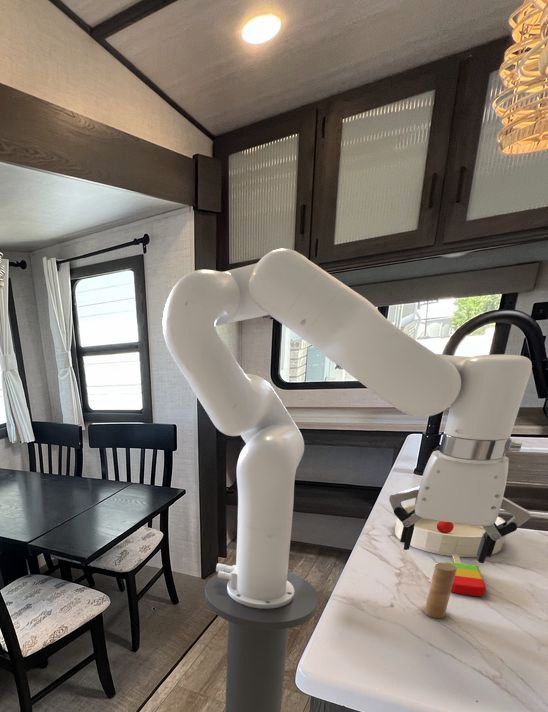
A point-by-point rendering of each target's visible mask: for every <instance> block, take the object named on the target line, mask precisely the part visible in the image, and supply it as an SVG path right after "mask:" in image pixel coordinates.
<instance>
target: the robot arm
mask: <svg viewBox="0 0 548 712" xmlns="http://www.w3.org/2000/svg"><path fill="white" fill-rule="evenodd" d="M265 316H270V317H272V318H273V319H274V320H276V322H279V323H280V324H282V325H283V326H285V327H286V328H287V329H289V330H290V331H292V332H293V333H295V334H296V335H297V336H298V337H300V338H301V339H302V340H304V341H305V342H307V344H309V345H311V346H312V347H313V348H315V349H316V350H317V351H319V352H321V353H322V354H323V355H324V356H325V357H326V358H327V359H328V360H329V361H331V362H333V363H334V364H336V365H337V366H339V367H340V368H341V369H342V370H344V371H345V372H347V374H349V375H350V376H351V377H353V378H354V379H355V380H356V381H357V382H358V383H361V385H363V386H364V387H366V388H367V389H368V390H370V391H371V392H372V393H374V394H375V395H377V396H378V397H379V398H381V399H382V400H384V401H385V402H386V403H388V404H389V405H391V406H392V407H393V408H395V409H397V410H398V411H400V412H401V413H403V414H405V415H408V416H411V417H415V418H427V417H432V416H435V415H438V414H440V413H442V412H444V411H446V410H447V409H448V408H449V411H448V415H447V417H446V418H447V419H446V422H445V426H444V431H443V434H442V437H441V441H440V445H439V449H438V450H434V451H432V453H431V454H430V457H429V458H428V460H427V463H426V465H425V468H424V470H423V473H422V476H421V479H420V482H419V485H418V486H417V487H413V488H410V489H407V490H402V491H399V492H396V493H392V494H390V496H389V499H388V500H389V504H390V506H391V508H392V510H393V514H394V515H395V516H396V518H397V517H398V519H399V520H400V521H401V522H402V524H403V531H402V535H401V539H399V543H403V550H404V551H408V550H410V548H411V546H410V543H411V539H412V535H413V531H414V525H415V523H416V522H417V521H419V520H420V519H422V518H426V519H432V520H438V521H445V522H452V523H460V524H467V525H474V526H482V527H483V528H484V529H485V531H486V532H485V533H483V536H482V539H481V542H480V545H479V548H478V551H477V557H476V560H477V561H476V562H477V563H479V564H484V563H485V561H486V558H487V557H488V558H491V557H492V555H493V554H492V552H493V549H494V546H495V543H496V540H499V539H500V538H501V537H503V536H505V535H506V536H508V535H510V534H512V533H513V532H514V533H515V532H516V531H517V530H518V528H519V527H522V526H523V525H524V524H525V523H526V522H527V521H529V520H530V519H531V517H532V515H531V513H530V511H529V510H527V509H525V507H522V506H520V505H519V504H517V503H515V502H513V501H512V500H510V499H508V498H506V497H505V496H504V494H505V491H506V486H507V479H508V474H509V473H508V472H509V463H510V461H509V460H510V459H509V457H507V456H506V455H508V454H509V453H513V452H516V453H517V452H518V453H519V452H520V451H521V449H522V446H523V445H522V444H523V442H522V441H516V440H512V438H511V435H512V432H513V429H514V426H515V423H516V420H517V417H518V413H519V410H520V407H521V405H522V401H523V398H524V396H525V392H526V389H527V386H528V383H529V379H530V377H531V373H532V368H533V365H532V361H531V360H530V358H528V357H527V356H524V355H518V354H481V355H474V356H463V355H462V356H461V355H449V354H441V353H435V352H433V351H432V350H431V349H429V348H427V347H426V346H425V345H423V344H422V343H420V342H419V341H417V340H415V339H414V338H413V337H412V336H410V335H408V334H407V333H406V332H405V331H403V330H402V329H400V328H399V327H398V326H396V325H395V324H394V323H393V322H392V321H390V320H389V319H387V317H385V316H384V315H383V314H382V313H381V312H380V310H379V309H378V308H377V307H376V306H375V305H374V304H373V303H372V302H371V301H370V300H368V299H367V298H366V297H364V296H363V295H362V294H360V293H358V292H356V291H355V290H354V289H352V288H351V287H350V286H348V285H346V284H345V283H343V282H342V281H341V280H339V279H337V278H336V277H335V276H333V275H332V274H330V273H328V272H327V271H326V270H324V269H323V268H321V267H320V266H319V265H317V264H315V263H314V262H312V261H311V260H309V259H308V258H307V257H306V256H305V255H303V254H301V252H298V251H296V250H294V249H291V248H286V247H285V248H284V247H283V248H277V249H273V250H271V251H269V252H268V253H266V254H265V255H264V256H262V257H261V258H260V260H259V261H258V262H256V263H252V264H249V265H245V266H241V267H236V268H233V269H229V270H225V271H219V270H215V269H214V270H213V269H203V268H202V269H197V270H193V271H190V272H188V273H186V274H185V275H183V276H182V277H181V278H179V280H178V281H177V282H176V284H174V286H173V287H172V289H171V291H170V293H169V295H168V297H167V299H166V302H165V306H164V309H163V316H162V334H163V338H164V342H165V345H166V349H167V350H168V353H169V354H170V356H171V358H172V359H173V361H174V363H175V365H176V366H177V368H178V369H179V370H180V372H181V373H182V375H183V377H184V378H185V380H186V381H187V383H188V384H189V386H190V388H191V390H192V392H193V394H194V395H195V397H196V399H198V401H199V403H200V404H201V406H202V408H203V409H204V411H205V412H206V414H207V416H208V417H209V419H210V421H211V422H212V424H213V425H214V427H215V428H216V429H217V430H218V431H219V432H220V433H222V434H224V435H225V436H228V437H229V436H230V437H238V436H240V437H241V438H242V440H243V441H244V443H245V445H244V446H243V448H242V449H241V450H240V453H239V456H238V459H237V463H236V485H237V486H236V487H237V532H236V533H237V534H236V557H235V559H236V560H235V564H232V565H228V564H224V563H219V562H218V563H216V567H215V572H216V573H217V574H218V578H223V579H229V582H228V584H227V591H228V594H229V596H230V597H231V598H232V599H234V600H235V601H237V602H238V603H240V604H243V605H246V606H249V607H253V608H260V609H271V608H278V607H282V606H284V605H286V604H288V603H290V602H291V601H292V600H293V598H294V593H295V592H294V587H293V585H292V584H291V583H290V582H288V581H287V573H288V572H289V561H290V551H291V550H290V549H291V540H292V539H291V538H292V529H293V528H292V527H293V513H294V502H295V501H294V498H295V481H296V474H297V468H298V467H299V465H300V462H301V460H302V458H303V456H304V452H305V440H304V437H303V434H302V432H301V431H300V429H299V427H298V425H297V424H296V422H295V421H294V419H293V418H292V416H291V414H290V413H289V411H288V410H287V408H286V407H285V405H284V404H283V402H282V400H281V399H280V397H279V395H278V394H277V393H276V391H275V389H274V388H273V387H272V386H271V384H270V383H269V382H268V381H267V380H266V379H265V378H263V377H262V376H259V375H257V374H253V373H245V372H244V370H243V368H242V367H241V365H240V364H239V362H238V361H237V360H236V358H235V356H234V354H233V352H232V351H231V350H230V348H229V346H228V345H227V344H226V343H225V341H224V340H223V339H222V338H221V337H220V335H219V333H218V331H217V326H223V325H228V324H232V323H236V322H241V321H247V320H251V319H256V318H260V317H261V318H262V317H265ZM412 499H413V500H414V499H415V501H414V504H415V509H413V510H412V511H410V512H409V513H408V512H407V511H406V510H405V509H404V508H403V507H404V506H403V504H402V502H405V501H409V500H412ZM501 510H503V511H505V512H507V513H508V514H510V515H512V517H511V518H510V519H508V520H505V521H506V522H504V523H502V524H500V525H496V523H495V521H496V520H497V517H499V514H500V511H501Z"/></svg>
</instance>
